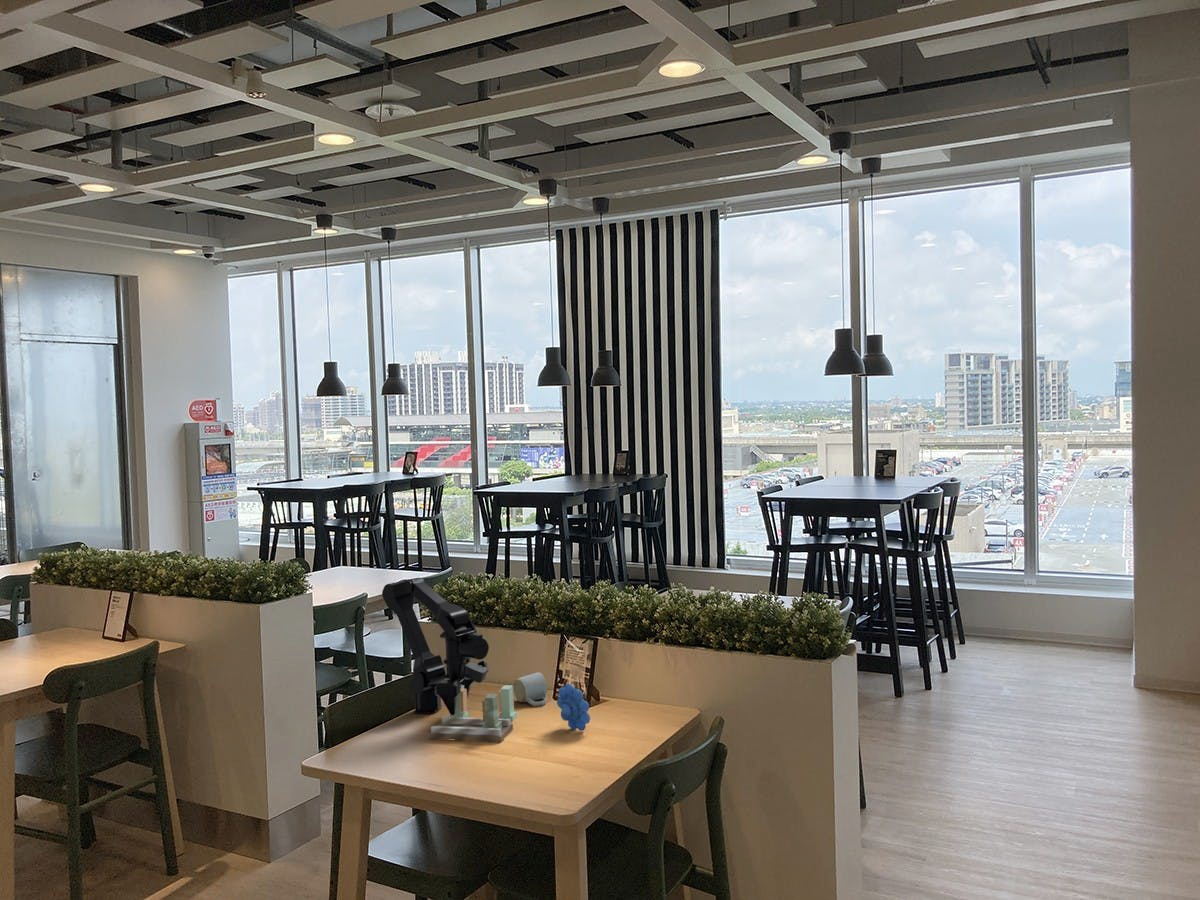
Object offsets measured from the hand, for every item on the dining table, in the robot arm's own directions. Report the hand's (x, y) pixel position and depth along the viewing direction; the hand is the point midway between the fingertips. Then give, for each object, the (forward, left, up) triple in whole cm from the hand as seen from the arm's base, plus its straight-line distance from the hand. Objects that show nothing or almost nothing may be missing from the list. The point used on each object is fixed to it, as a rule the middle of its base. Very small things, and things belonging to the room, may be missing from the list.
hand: (458, 709), depth 271 cm
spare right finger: (+14, +1, -3) cm, 14 cm away
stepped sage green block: (0, 0, -3) cm, 3 cm away
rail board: (+8, -12, -2) cm, 15 cm away
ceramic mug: (+17, +17, -3) cm, 24 cm away
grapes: (+34, -6, -3) cm, 35 cm away
